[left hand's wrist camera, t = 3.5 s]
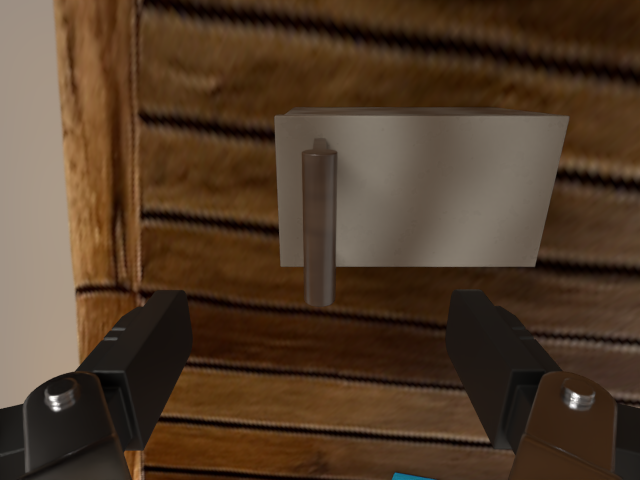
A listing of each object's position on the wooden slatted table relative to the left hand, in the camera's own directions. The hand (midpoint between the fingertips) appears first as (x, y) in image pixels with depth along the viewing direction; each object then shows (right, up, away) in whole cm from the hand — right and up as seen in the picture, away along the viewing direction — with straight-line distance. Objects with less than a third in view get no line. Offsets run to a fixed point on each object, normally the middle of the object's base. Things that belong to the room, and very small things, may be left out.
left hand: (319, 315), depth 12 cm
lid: (+6, +5, +13) cm, 16 cm away
